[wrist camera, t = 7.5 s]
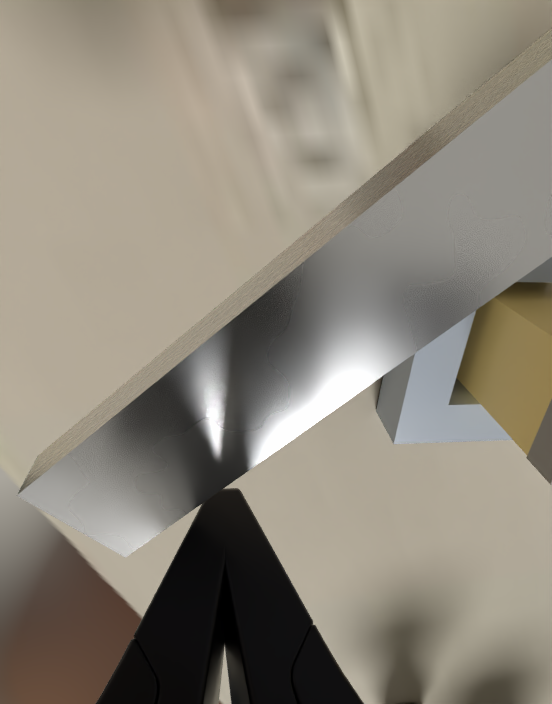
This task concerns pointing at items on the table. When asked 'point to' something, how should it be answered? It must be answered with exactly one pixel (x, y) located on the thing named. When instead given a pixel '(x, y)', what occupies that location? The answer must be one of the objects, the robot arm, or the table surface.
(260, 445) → the silver metal plank
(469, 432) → the socket
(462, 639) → the table surface
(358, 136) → the table surface
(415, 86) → the table surface
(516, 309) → the plug
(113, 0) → the table surface
